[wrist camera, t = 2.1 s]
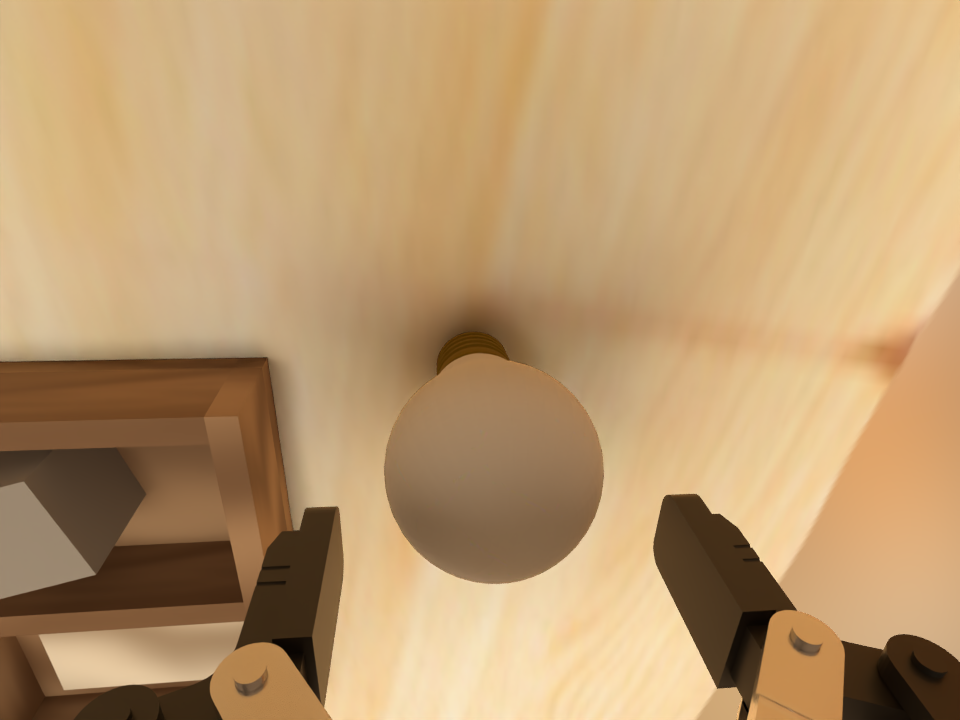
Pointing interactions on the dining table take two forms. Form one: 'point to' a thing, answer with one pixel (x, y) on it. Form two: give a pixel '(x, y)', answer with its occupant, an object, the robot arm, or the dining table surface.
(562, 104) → the dining table surface
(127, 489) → the grey cube
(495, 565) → the light bulb
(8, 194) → the dining table surface
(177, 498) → the box
